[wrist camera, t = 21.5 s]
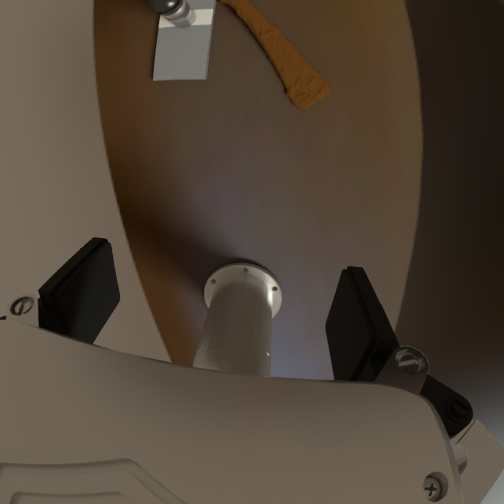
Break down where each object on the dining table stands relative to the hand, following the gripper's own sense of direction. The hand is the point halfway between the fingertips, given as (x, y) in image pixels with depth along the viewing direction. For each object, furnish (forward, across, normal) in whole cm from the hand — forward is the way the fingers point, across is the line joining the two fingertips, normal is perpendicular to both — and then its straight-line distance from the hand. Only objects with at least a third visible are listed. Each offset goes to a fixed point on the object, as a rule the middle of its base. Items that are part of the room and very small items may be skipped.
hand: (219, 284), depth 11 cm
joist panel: (+28, +11, -19) cm, 36 cm away
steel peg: (+27, +11, -19) cm, 35 cm away
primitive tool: (+28, -1, -16) cm, 33 cm away
